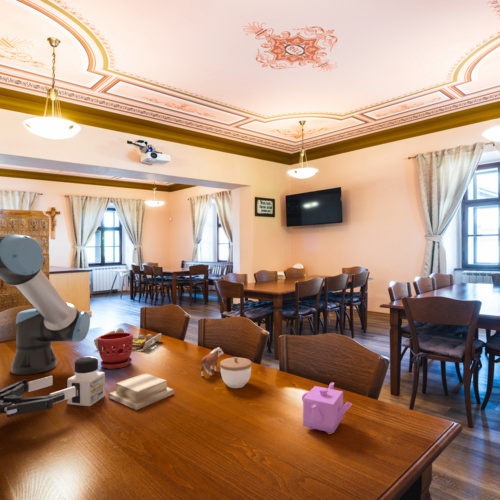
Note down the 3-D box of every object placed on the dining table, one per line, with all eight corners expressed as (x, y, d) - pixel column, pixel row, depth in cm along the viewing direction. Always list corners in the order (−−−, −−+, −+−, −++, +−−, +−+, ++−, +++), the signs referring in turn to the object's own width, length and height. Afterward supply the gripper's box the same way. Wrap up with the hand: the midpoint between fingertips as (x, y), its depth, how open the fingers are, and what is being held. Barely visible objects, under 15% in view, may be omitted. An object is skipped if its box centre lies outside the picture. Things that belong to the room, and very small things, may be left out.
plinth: (108, 397, 113) (108, 383, 113) (146, 384, 124) (146, 370, 124) (136, 410, 105) (136, 394, 105) (173, 394, 116) (173, 380, 116)
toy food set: (93, 351, 165) (93, 334, 165) (113, 340, 183) (113, 325, 183) (146, 353, 161) (146, 336, 161) (161, 342, 179) (161, 326, 179)
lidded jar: (258, 384, 124) (258, 357, 124) (235, 393, 116) (235, 364, 116) (236, 376, 131) (235, 350, 131) (213, 385, 123) (213, 357, 123)
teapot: (342, 450, 84) (342, 408, 84) (289, 436, 90) (289, 397, 90) (359, 418, 100) (359, 382, 99) (313, 407, 106) (313, 374, 106)
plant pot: (138, 360, 150) (138, 331, 150) (124, 371, 137) (123, 339, 137) (108, 359, 151) (107, 330, 151) (91, 370, 138) (91, 339, 138)
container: (90, 406, 107) (89, 363, 107) (67, 404, 108) (66, 361, 108) (105, 396, 114) (105, 355, 114) (83, 394, 116) (83, 353, 116)
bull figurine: (225, 367, 141) (225, 346, 141) (207, 379, 129) (207, 356, 129) (215, 365, 143) (215, 345, 143) (196, 377, 131) (196, 354, 130)
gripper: (-42, 413, 96) (43, 388, 113) (-7, 444, 81) (85, 410, 98) (-42, 385, 96) (43, 364, 113) (-7, 411, 81) (85, 382, 98)
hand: (63, 385), depth 105 cm, fingers open, 13 cm apart
